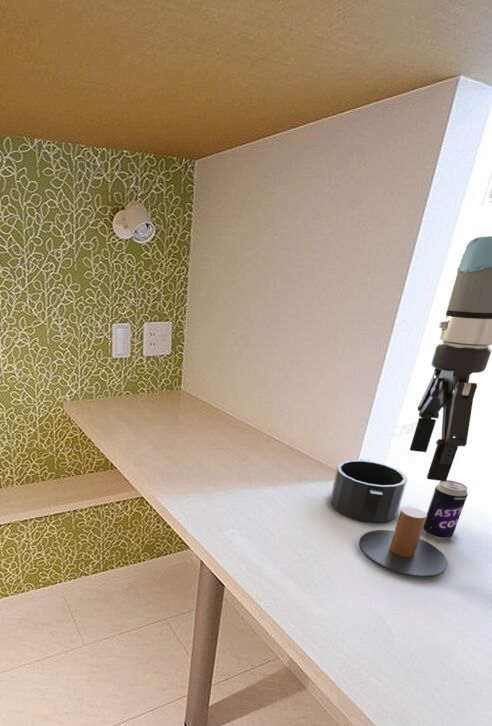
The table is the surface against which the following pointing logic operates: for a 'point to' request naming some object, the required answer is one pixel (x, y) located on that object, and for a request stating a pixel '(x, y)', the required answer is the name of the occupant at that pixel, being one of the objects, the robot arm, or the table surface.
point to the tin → (367, 491)
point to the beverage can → (445, 509)
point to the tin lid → (404, 547)
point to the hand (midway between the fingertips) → (426, 464)
